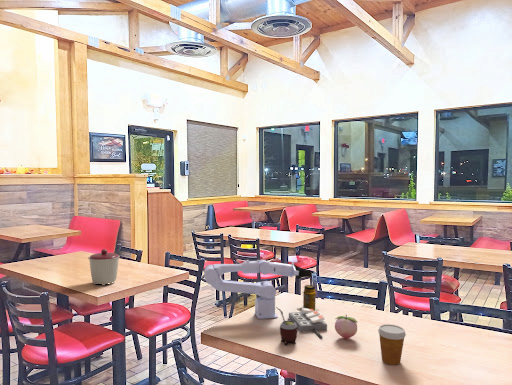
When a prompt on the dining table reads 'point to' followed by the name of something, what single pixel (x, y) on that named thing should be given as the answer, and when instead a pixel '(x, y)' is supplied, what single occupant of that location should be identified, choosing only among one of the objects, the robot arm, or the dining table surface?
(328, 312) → the dining table surface
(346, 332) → the decorative fruit
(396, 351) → the disposable coffee cup
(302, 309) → the rocker near arm
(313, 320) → the rocker near camera
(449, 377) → the dining table surface
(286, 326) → the mate gourd
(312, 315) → the rocker middle
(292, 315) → the rocker switch panel
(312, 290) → the condiment
